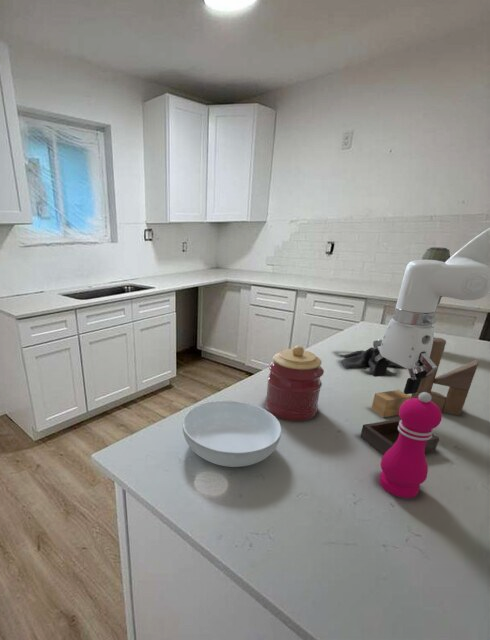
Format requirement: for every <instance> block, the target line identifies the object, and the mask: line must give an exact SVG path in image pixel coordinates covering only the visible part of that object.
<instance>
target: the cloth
mask: <svg viewBox="0 0 490 640" xmlns="http://www.w3.org/2000/svg"><path fill="white" fill-rule="evenodd" d="M339 357H340V358H343V359H341V360H340V363H341V364H342V366H343V368H344V369H345V370H349V369H357V368H359V369H360V368H363V370H364V371H363V372H364V373H365V374H366V375H373V373H374V369H375V365H376V362H377V361H375V354H374V347H369V348H368V349H366V350H363V349H362V350H356V351H352V352H350V353H345V354H339ZM386 361H389V362H388V366H387V368H396V367H397V368H402V369H406V368H405V367H402V366H400V365H398V364H396V363H394V362H392V361H390V360H388V359H387V360H386ZM368 368H370V370H367V369H368ZM365 370H366V371H365ZM384 376H389V377H390V376H391V377H396V376H397V372H391V371H390V370H388V369H387V370H386V374H385V375H384Z"/></svg>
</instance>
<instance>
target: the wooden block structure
mask: <svg viewBox="0 0 490 640" xmlns="http://www.w3.org/2000/svg"><path fill="white" fill-rule="evenodd" d="M446 345H447V340H446V339H444V338H441V337H434V338H433V344H432V349H431V354H430V359H431V360H432V361H433V363H434V364H435V365H436V366H437V369H436V370H435V371H434V372H433V373H431V375H430V376H427V377H425V378H424V379H421V382H420V385H419V388H418V390H417V392H416V393H412V394H410V396H411V399H412V398H418V397H419V394H420V393H422V392H427V393H429V394H430V395H431V397H432V398H431V400H430V401H432V402H433V403H435V404H436V405H437V406H438V407H439V408H440V410H441V412H442V413H447V414H451V415H454V416H455V415H456V416H460V415H461V414H462V411H463V408H464V406H465V402H466V400H467V397H468V394H469V391H470V388H471V386H472V383H473V380H474V377H475V375H476V372H477V369H478V366H479V359H475V360H473V361H471V362H470V361H469V362H468V363H466V364H464V365H461V366H459V367H457V368H455V369H451V370H450V371H447V372H445V373H443V374H441V375H438V376H437V373H438V370H439V366H440V364H441V360H442V357H443V354H444V351H445V348H446ZM422 368H423V370H424V369H425V367H422ZM434 384H435V385H440V386H445V387H448V390H447V393H446V396H445V395H443V394H442V393H440V392H437V391H432V389H433V386H434Z"/></svg>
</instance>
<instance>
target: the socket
mask: <svg viewBox="0 0 490 640" xmlns="http://www.w3.org/2000/svg"><path fill="white" fill-rule="evenodd" d="M400 421H401V419H400V418H396V419H395V418H394V419H389V420H384V421H377V422H372V423H371V422H370V423H364V424H362V428H361V433H360V438H361V440H362V441H365V442H366V444H368V445H369V446H371V447H372V448H373V449H375V450H376V451H377V452H378V453H379V454H381V455H382V456H384V454H385V453H386V452H387V451H388V450H389V449H390V448H391V447H392V446H393V445H394V444H395V442H396V441H397V439H398V437H399V430H398V426H399V422H400ZM439 441H440V437H439V436H437V435H435V434H434V433H433V434H432V438H431V439H429V440H427V442H426V445H425V454H426V453H427V454H429V453H433V452H435V451H436V450H437V447H438V444H439Z"/></svg>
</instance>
